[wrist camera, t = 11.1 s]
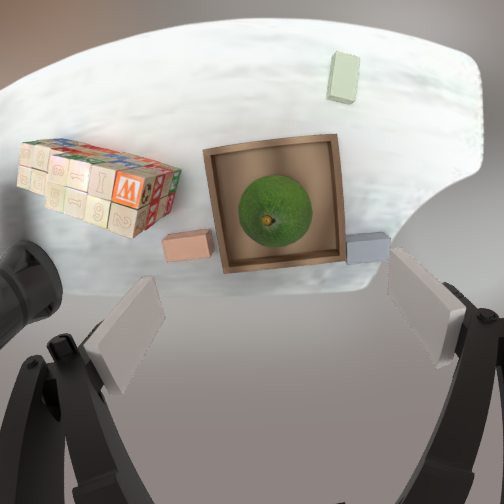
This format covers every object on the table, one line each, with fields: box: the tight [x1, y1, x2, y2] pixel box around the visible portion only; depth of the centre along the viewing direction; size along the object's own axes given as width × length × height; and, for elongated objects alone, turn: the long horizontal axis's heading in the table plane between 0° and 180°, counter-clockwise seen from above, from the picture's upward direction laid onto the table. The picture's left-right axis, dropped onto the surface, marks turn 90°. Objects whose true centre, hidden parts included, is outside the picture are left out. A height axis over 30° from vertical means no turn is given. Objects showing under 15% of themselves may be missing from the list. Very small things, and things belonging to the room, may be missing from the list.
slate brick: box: [345, 232, 391, 265], centre depth 37 cm, size 6×3×3 cm, turn 97°
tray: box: [203, 134, 346, 274], centre depth 36 cm, size 16×16×3 cm
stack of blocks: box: [17, 139, 181, 239], centre depth 31 cm, size 21×6×12 cm, turn 72°
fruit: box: [238, 175, 313, 248], centre depth 31 cm, size 8×8×12 cm
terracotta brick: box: [162, 229, 214, 262], centre depth 39 cm, size 6×3×3 cm, turn 98°
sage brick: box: [326, 51, 360, 104], centre depth 30 cm, size 6×3×3 cm, turn 171°
